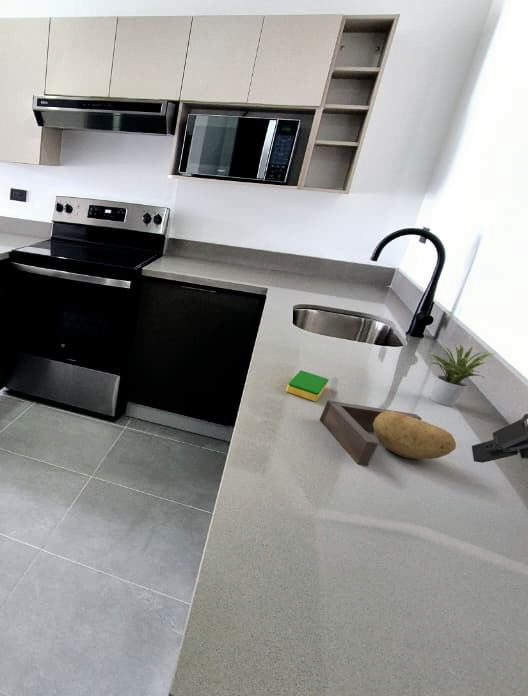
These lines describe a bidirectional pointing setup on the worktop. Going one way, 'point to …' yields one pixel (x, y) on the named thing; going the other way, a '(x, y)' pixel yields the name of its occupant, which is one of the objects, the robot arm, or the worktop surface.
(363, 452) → the wooden corner bracket
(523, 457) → the robot arm
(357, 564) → the worktop surface
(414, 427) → the potato
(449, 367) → the house plant
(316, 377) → the dish sponge
